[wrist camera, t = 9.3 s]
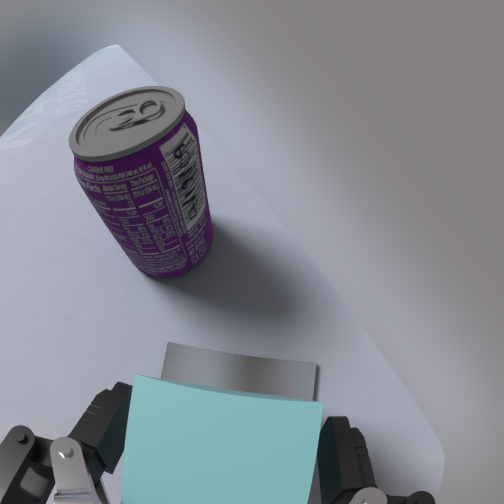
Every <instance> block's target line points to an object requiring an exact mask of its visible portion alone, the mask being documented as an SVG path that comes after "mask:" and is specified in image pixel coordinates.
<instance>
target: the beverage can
mask: <svg viewBox="0 0 504 504" xmlns="http://www.w3.org/2000/svg"><path fill="white" fill-rule="evenodd" d="M69 146H70V148H71V150H72V152H73V154H74V171H75V175H76V178H77V180H78V182H79V184H80V185H81V187H82V189H83V190H84V192H85V194H86V195H87V197H88V198H89V200H90V202H91V203H92V205H93V206H94V208H95V209H96V211H97V213H98V214H99V216H100V217H101V219H102V220H103V222H104V223H105V225H106V226H107V228H108V229H109V231H110V232H111V233H112V235H113V236H114V238H115V239H116V241H117V242H118V243H119V245H120V246H121V248H122V249H123V250H124V252H125V253H126V255H127V256H128V257H129V259H130V260H131V261H132V263H133V264H134V265H135V266H136V267H137V268H138V269H139V270H141V271H142V272H144V273H146V274H148V275H151V276H156V277H170V276H175V275H179V274H181V273H184V272H186V271H188V270H190V269H191V268H193V267H194V266H195V265H197V264H198V263H199V262H200V261H201V260H202V258H203V257H204V256H205V255H206V253H207V251H208V249H209V247H210V245H211V241H212V236H213V230H212V223H211V217H210V211H209V205H208V199H207V192H206V186H205V179H204V172H203V166H202V159H201V152H200V144H199V137H198V131H197V126H196V123H195V121H194V119H193V118H192V117H191V115H190V114H189V113H188V112H187V111H186V109H185V103H184V98H183V96H182V95H181V94H180V93H179V92H178V91H176V90H174V89H172V88H168V87H162V86H147V87H140V88H135V89H131V90H128V91H124V92H121V93H119V94H116V95H114V96H112V97H110V98H108V99H106V100H104V101H102V102H101V103H99V104H97V105H96V106H94V107H93V108H92V109H90V110H89V111H88V112H87V113H86V114H85V115H83V116H82V117H81V119H80V120H79V121H78V122H77V123H76V125H75V126H74V128H73V129H72V131H71V134H70V137H69Z"/></svg>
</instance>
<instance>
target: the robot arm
mask: <svg viewBox="0 0 504 504" xmlns="http://www.w3.org/2000/svg"><path fill="white" fill-rule="evenodd" d="M132 389H133V386H132V385H128V384H125V383H122V382H117V383H116V384H115V386H114V387H113V389H112V390H111V391H110V390H108V389H105V390H104V391H102V392H101V393H99V394H97V395H96V397H95V398H94V400H93V401H92V402H91V405H89V407H88V408H87V411H85V413H84V414H83V415H82V417H81V418H80V420H79V421H78V423H77V424H76V426H75V427H74V429H73V430H72V432H71V433H70V434H69V435H68V436H67V437H60V438H58V439H56V440H50V439H46V438H42V437H38V436H35V435H34V434H33V432H32V431H31V430H30V429H29V428H28V427H26V426H22V425H19V426H15V427H13V428H12V429H11V430H10V431H9V433H8V434H7V436H6V437H5V439H4V440H3V442H2V443H1V445H0V504H46V502H47V500H48V498H49V495H50V493H51V491H52V489H53V487H54V485H55V483H56V487H57V494H55V495H54V503H55V504H111V503H110V500H109V498H108V495H107V492H106V489H105V486H104V483H103V480H102V478H101V476H102V474H103V472H104V471H105V472H108V473H110V474H113V472H114V470H115V468H116V466H117V463H118V461H119V459H120V457H121V455H122V453H123V451H124V447H125V438H126V430H127V422H128V415H129V408H130V402H131V395H132ZM317 457H318V467H319V478H320V489H321V502H322V504H435V500H434V498H433V496H432V495H431V494H430V493H428V492H425V491H418V492H415V493H413V494H412V495H410V496H409V497H402V496H390V495H386V494H385V493H384V492H383V491H381V490H380V489H378V488H377V486H376V483H375V479H374V475H373V471H372V467H371V462H370V458H369V456H368V451H367V448H366V443H365V439H364V436H363V435H362V433H361V432H360V431H359V430H358V428H350V425H349V421H348V418H347V417H346V416H329V417H328V418H327V420H326V422H325V424H324V426H323V428H322V430H321V432H320V434H319V441H318V448H317Z"/></svg>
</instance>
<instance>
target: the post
mask: <svg viewBox="0 0 504 504" xmlns="http://www.w3.org/2000/svg"><path fill="white" fill-rule="evenodd" d="M316 364H317V363H311V362H298V361H287V360H277V359H268V358H259V357H251V356H244V355H237V354H230V353H224V352H218V351H212V350H206V349H201V348H195V347H190V346H185V345H180V344H175V343H171V342H168V344H167V349H166V354H165V359H164V364H163V369H162V375H161V379H165V380H171V381H178V382H185V383H193V384H199V385H205V386H210V387H216V388H222V389H229V390H236V391H243V392H251V393H260V394H270V395H279V396H285V397H291V398H297V399H304V400H311V401H313V394H314V385H315V375H316Z"/></svg>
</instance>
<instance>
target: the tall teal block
mask: <svg viewBox="0 0 504 504" xmlns="http://www.w3.org/2000/svg"><path fill="white" fill-rule="evenodd" d="M322 411H323V402H318V401H311V400H304V399H297V398H291V397H285V396H279V395H270V394H260V393H251V392H243V391H236V390H229V389H222V388H216V387H210V386H205V385H199V384H193V383H185V382H178V381H171V380H165V379H159V378H153V377H148V376H143V375H138V374H135V378H134V384H133V389H132V395H131V402H130V408H129V415H128V422H127V430H126V438H125V447H124V458H123V470H122V485H121V504H307V503H308V498H309V493H310V488H311V483H312V478H313V472H314V467H315V461H316V455H317V448H318V441H319V434H320V427H321V419H322Z"/></svg>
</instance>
